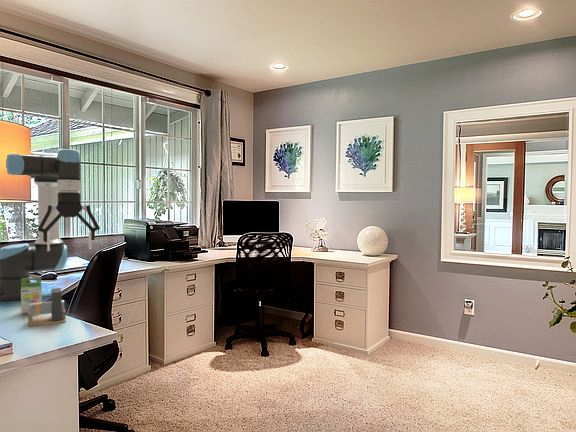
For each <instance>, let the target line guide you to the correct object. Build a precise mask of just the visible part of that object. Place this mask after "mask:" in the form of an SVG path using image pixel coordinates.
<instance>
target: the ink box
mask: <svg viewBox="0 0 576 432" xmlns="http://www.w3.org/2000/svg"><path fill="white" fill-rule="evenodd" d="M29 280H30V281H33V282H31V283H26V281H29ZM35 281H36V282H35ZM36 302H43V289H42V276H38V277H36V276H35V277H29V278H21V301H20V309H21V315H29V303H36Z"/></svg>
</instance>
